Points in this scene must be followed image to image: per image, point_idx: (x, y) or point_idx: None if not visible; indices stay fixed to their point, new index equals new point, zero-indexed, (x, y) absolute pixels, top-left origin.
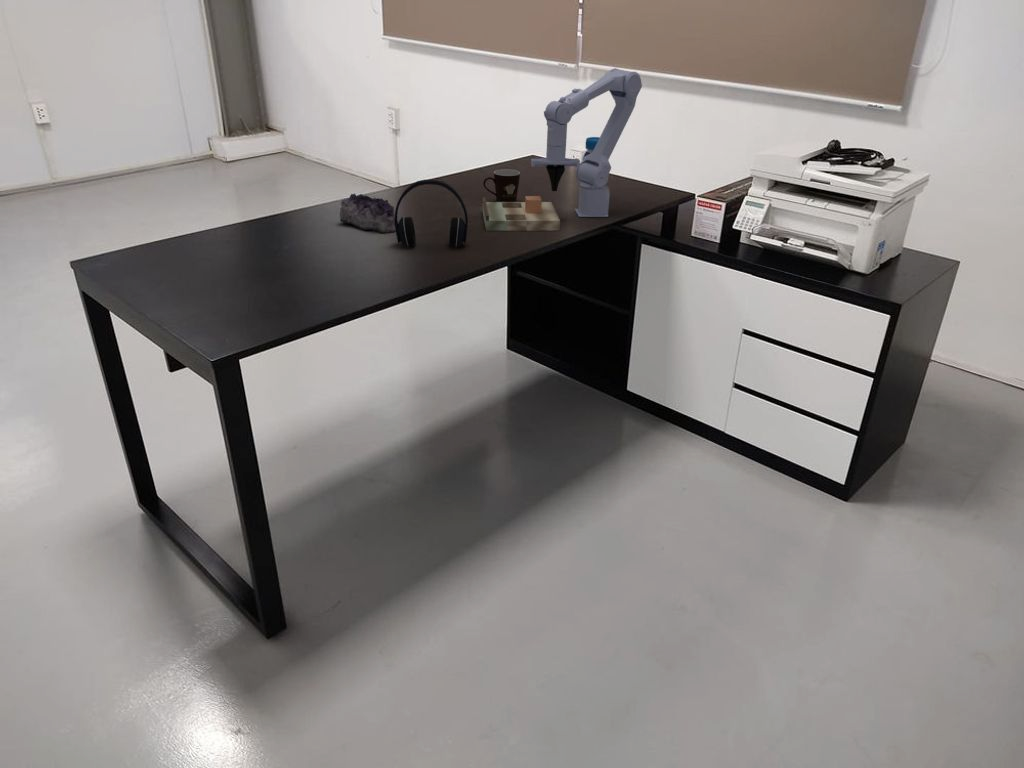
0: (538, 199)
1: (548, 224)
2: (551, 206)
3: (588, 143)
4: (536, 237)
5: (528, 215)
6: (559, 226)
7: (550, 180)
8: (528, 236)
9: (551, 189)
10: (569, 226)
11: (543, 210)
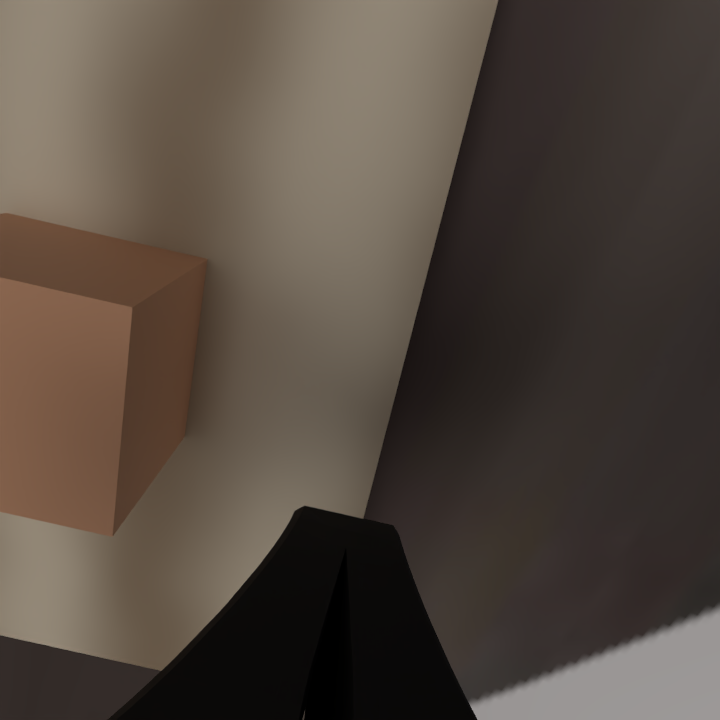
0: (68, 488)
1: None
2: (424, 173)
3: None
4: (90, 711)
5: None
6: None
7: (208, 642)
8: (32, 679)
9: (294, 512)
10: (464, 553)
11: (245, 337)
